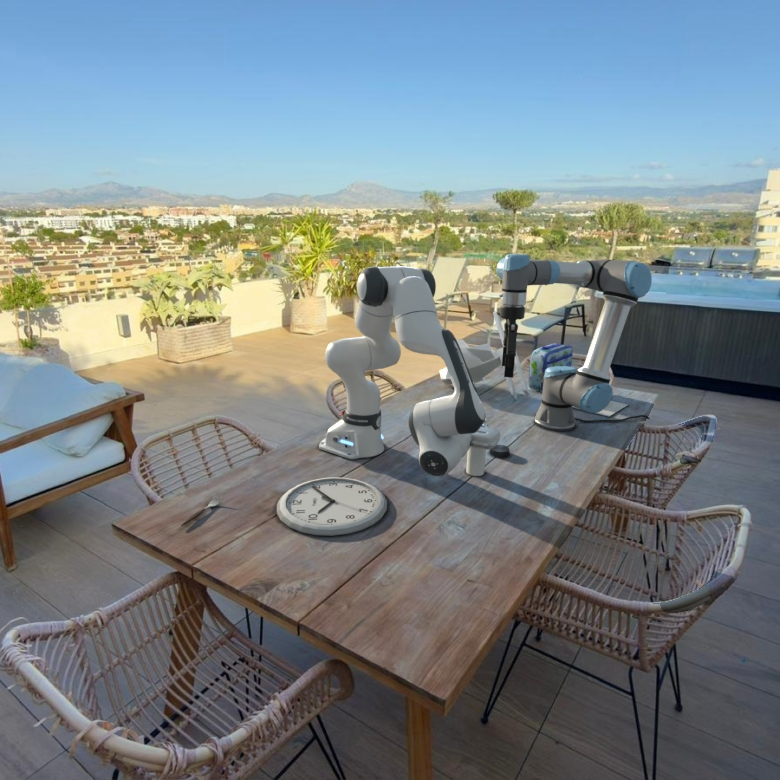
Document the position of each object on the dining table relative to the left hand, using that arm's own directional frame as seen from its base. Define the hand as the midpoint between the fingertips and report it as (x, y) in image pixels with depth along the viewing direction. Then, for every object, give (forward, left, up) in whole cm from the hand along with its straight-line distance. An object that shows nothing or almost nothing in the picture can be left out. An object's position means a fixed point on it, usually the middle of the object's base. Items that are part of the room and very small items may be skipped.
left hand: (468, 423), depth 148 cm
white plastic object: (-21, +93, -20) cm, 97 cm away
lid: (+4, +28, -18) cm, 34 cm away
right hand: (+4, +29, +9) cm, 30 cm away
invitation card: (+32, +97, -20) cm, 104 cm away
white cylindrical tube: (0, +11, -20) cm, 23 cm away
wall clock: (-30, -26, -20) cm, 44 cm away
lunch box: (+7, +116, -20) cm, 118 cm away
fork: (-58, -45, -20) cm, 76 cm away
